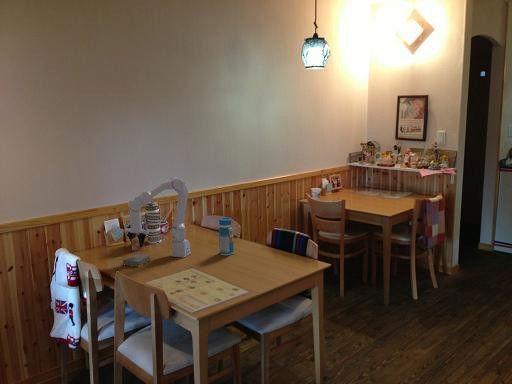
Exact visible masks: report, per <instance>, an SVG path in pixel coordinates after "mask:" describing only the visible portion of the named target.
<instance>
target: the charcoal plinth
mask: <svg viewBox="0 0 512 384" xmlns="http://www.w3.org/2000/svg"><path fill="white" fill-rule="evenodd" d="M148 261H149V262H151V256H150V255H145V254H136V253H134V254H132V255H129V256H128V257H126V258H124V259H122V263H123V264H125V265H133V266H140V265H142V264H144V263H146V262H148ZM149 262H148V263H149ZM146 264H147V263H146ZM125 265H124V266H125ZM144 265H145V264H144ZM133 266H132V267H133ZM142 266H143V265H142ZM140 267H141V266H140Z"/></svg>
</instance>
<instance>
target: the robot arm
mask: <svg viewBox="0 0 512 384" xmlns="http://www.w3.org/2000/svg"><path fill="white" fill-rule="evenodd" d="M165 190H174V191H175V192H176V194H177V195H178V197H177V204H176V210H175V211H176V212H175V218H174V222H173V224H172V228H171V229H170V233H169V234H170V235H171V236H172V238H171V245H172V253H171V254H170V255H169V257H176V258H177V257H178V258H186V257H187V256H189V255H190V254H192V252H191V243H190V241H189V240H188V239H186V236H187V235H186V234H187V233H186V227H185V218H186V212H187V206H188V205H187V204H188V199H189V190H188V188H187V185H186V182H185V181H184V180H182V178H178V177H177V176H171V177H168V178H167V179H165V180H164V181H163V182H161V183H160V184H158V185H157V186H156V187H154V188H152V189H151V190H150V191H148V190H146V191H142V192H141V194H140V195H138V196H135V197H134V198H133V199H130V200H129V201H128V203H127V207H128V209H129V210H128V211H129V222H130V223H129V225H131V228H128V227H127V228H124V233H126V236H127V238H128V239H129V241H130V243H131V245H132V241H131V239H134V238H136V233H138V234H139V235H137V237H138V239H139V245H140V247H143V245H144V246H145V240H146V238H147V236H148V235H147V234H149V230H147V229H144V228H143V229H142V225H141V223H142V216H141V215H142V214H141V209H142V207H145V205H146V204H147V203H149V202H153V199H154V197H155V196H157V195H159V194H160V193H162V192H163V191H165Z"/></svg>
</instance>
